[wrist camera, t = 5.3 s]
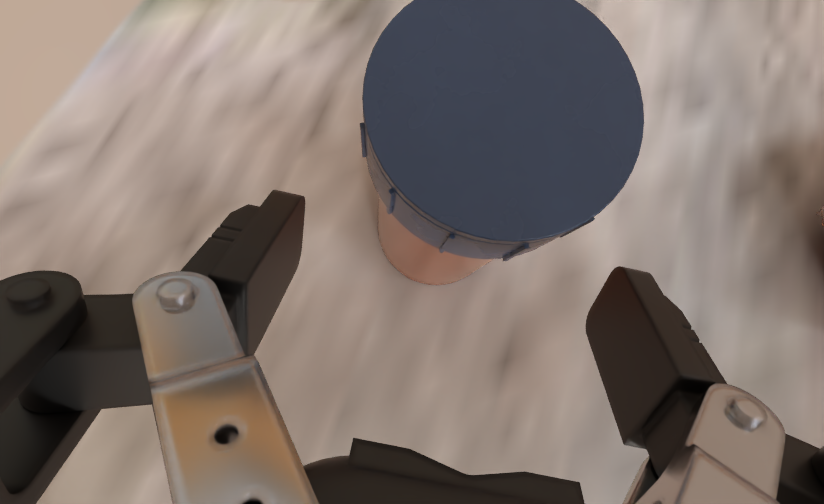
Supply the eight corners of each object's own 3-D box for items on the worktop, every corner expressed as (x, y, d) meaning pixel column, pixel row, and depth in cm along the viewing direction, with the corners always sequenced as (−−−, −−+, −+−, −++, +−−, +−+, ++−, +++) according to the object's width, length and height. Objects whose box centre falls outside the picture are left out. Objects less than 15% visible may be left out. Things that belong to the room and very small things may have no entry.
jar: (463, 157, 21) (553, -25, 10) (510, 258, 21) (659, 174, 10) (360, 197, 20) (343, 45, 10) (405, 303, 20) (441, 266, 9)
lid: (534, 12, 12) (567, -57, 10) (634, 206, 12) (694, 177, 9) (329, 82, 11) (318, 24, 9) (422, 297, 11) (433, 288, 9)
